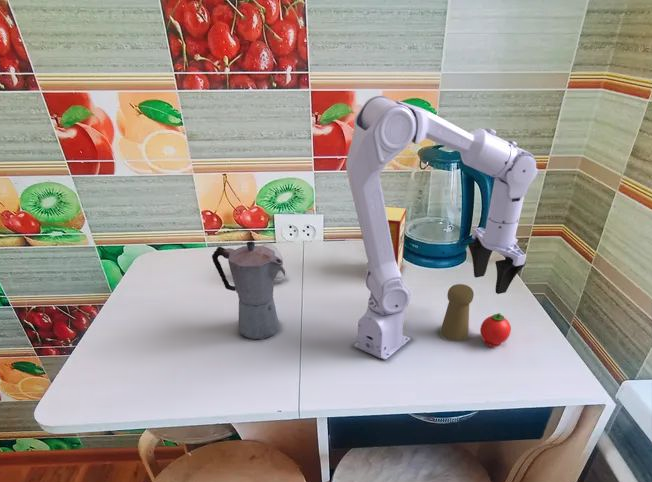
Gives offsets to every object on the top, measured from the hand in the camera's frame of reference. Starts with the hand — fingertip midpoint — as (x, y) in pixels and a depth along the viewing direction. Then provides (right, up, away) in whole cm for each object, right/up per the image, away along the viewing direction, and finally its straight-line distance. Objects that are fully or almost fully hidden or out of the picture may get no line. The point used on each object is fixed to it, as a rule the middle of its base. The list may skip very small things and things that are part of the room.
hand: (489, 284), depth 96 cm
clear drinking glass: (-50, +7, +25) cm, 57 cm away
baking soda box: (-19, +9, +27) cm, 34 cm away
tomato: (+1, -12, +2) cm, 12 cm away
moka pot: (-49, -9, +6) cm, 50 cm away
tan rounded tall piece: (-6, -10, +5) cm, 13 cm away
